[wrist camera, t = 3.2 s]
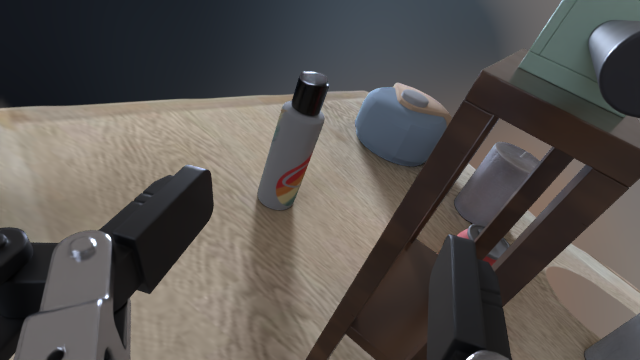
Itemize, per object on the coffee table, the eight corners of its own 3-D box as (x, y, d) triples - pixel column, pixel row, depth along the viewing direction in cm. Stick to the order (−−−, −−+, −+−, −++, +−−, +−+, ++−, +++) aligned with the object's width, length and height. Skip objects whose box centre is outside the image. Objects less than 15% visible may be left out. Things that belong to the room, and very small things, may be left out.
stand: (295, 375, 35) (481, 69, 17) (369, 283, 48) (523, 48, 29) (362, 438, 33) (661, 159, 15) (421, 325, 45) (625, 95, 27)
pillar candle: (480, 198, 76) (526, 139, 67) (510, 233, 69) (565, 171, 60) (444, 195, 72) (488, 131, 64) (471, 231, 65) (525, 166, 56)
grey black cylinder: (581, 362, 49) (643, 320, 43) (586, 343, 52) (645, 302, 46) (615, 390, 47) (686, 351, 41) (618, 369, 50) (684, 329, 44)
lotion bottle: (299, 208, 55) (346, 89, 43) (265, 213, 52) (306, 85, 40) (284, 184, 58) (324, 67, 47) (251, 187, 55) (285, 62, 44)
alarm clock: (443, 155, 87) (471, 111, 80) (406, 179, 72) (436, 128, 65) (380, 114, 94) (401, 70, 87) (335, 128, 79) (356, 77, 72)
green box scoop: (443, 126, 10) (618, -166, 6) (534, 54, 29) (590, -29, 25) (687, 266, 8) (1123, -42, 4) (611, 89, 27) (683, 6, 24)
